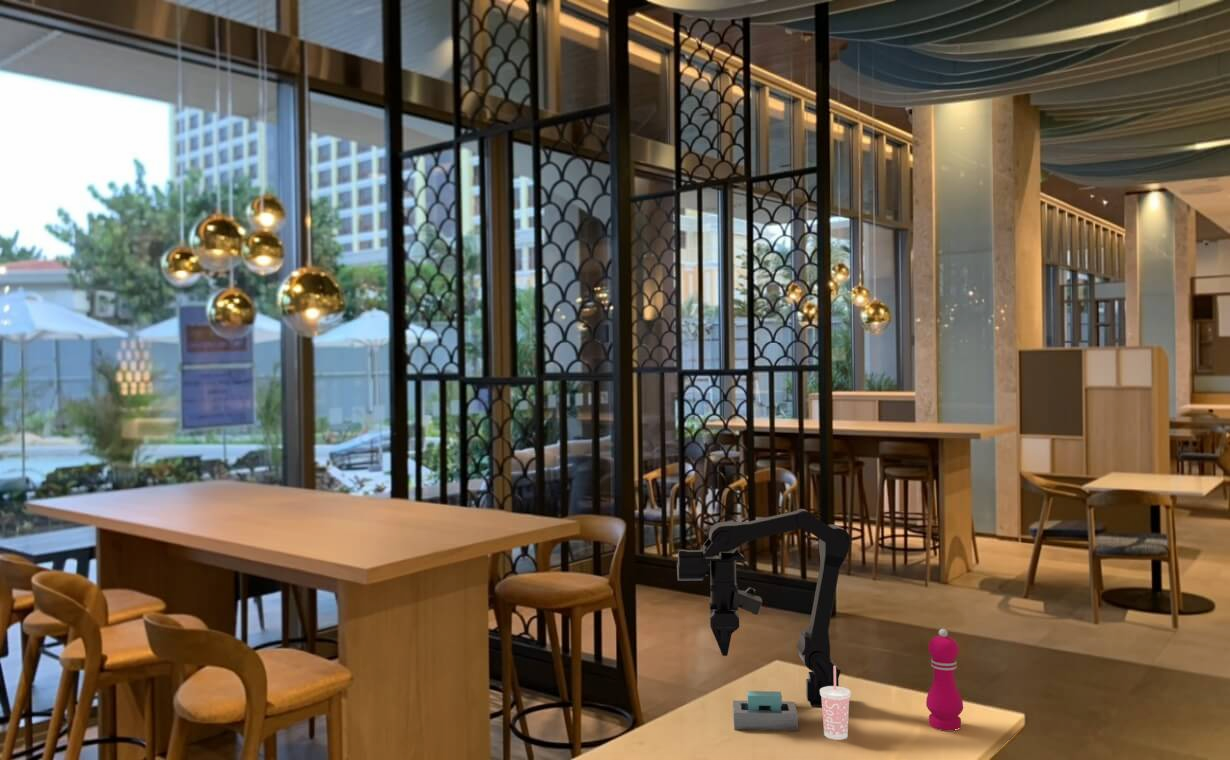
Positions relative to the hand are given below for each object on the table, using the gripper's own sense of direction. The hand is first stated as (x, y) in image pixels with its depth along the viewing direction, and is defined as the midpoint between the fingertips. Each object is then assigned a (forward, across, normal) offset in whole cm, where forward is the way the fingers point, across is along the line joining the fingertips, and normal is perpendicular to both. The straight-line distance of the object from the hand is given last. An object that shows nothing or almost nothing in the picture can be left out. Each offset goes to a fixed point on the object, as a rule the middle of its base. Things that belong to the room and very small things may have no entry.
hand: (724, 649), depth 204 cm
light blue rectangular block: (+11, -12, -8) cm, 18 cm away
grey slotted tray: (+12, -12, -8) cm, 19 cm away
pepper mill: (+12, -11, -45) cm, 48 cm away
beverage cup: (+12, -18, -22) cm, 31 cm away
